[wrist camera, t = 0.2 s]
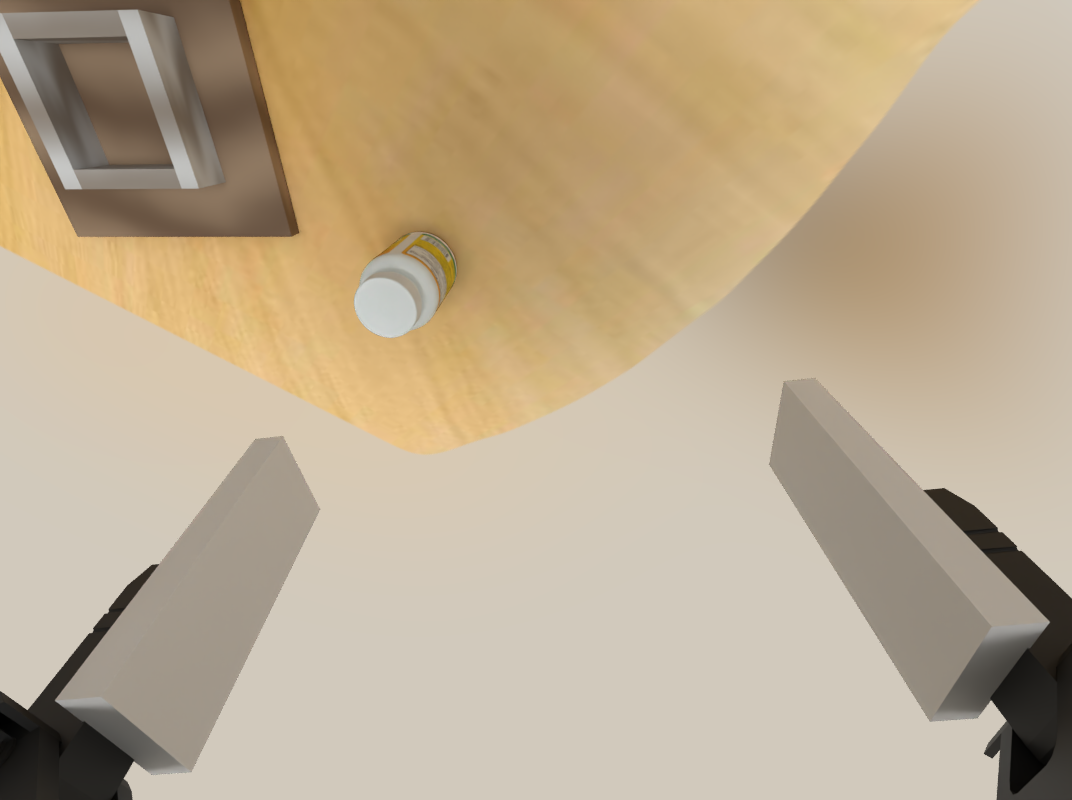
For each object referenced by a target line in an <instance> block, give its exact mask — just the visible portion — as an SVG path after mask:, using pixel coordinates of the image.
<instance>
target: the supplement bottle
mask: <svg viewBox="0 0 1072 800" xmlns="http://www.w3.org/2000/svg"><path fill="white" fill-rule="evenodd" d="M456 275H457V265H456V260H455V257H454V255H453V253H452V251H451V249H450V248H449V247H448V245H447V244H446V243H445V242H444V241H442V240H441V239H440V238H438V237H437V236H435V235H433V234H430V233H425V232H413V233H409V234H407V235H405V236H403V237H401V238H400V239H399V240H397V241H396V242H395V243H393V244H392V245H391V246H390V247H388V248H387V249H386V250H385V251H383V252H382V253H381V254H379V255H378V256H377V257H375V258H374V259H373V260H372V261H371V262H370V263H369V264H368V265H367V266H366V267H365V269H364V271H363V273H362V275H361V279H360V285H359V288H358V289H357V291H356V293H355V298H354V307H355V311H356V314H357V316H358V318H359V320H360V321H361V323H362V324H363V325H364V326H365V327H366V328H367V329H368V330H370V331H371V332H373V333H374V334H376V335H379V336H382V337H388V338H394V337H399V336H402V335H404V334H406V333H407V332H409V331H410V330H414V329H417V328H419V327H421V326H423V325H425V324H426V323H427V322H428V321H429V320H430V319H431V318H432V317H433V316H434V314H435V312H436V311H437V309H438V308H439V306H440V305H441V303H442V301H443V300H444V298H445V297H446V295H447V294H448V292H449V291H450V289H451V288H452V286H453V284H454V282H455V279H456Z"/></svg>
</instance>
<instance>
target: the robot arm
mask: <svg viewBox="0 0 1072 800" xmlns="http://www.w3.org/2000/svg"><path fill="white" fill-rule="evenodd" d="M769 465H770V467H771V468H772V470H773V471H774V473H775V475H776V476H777V478H778V479H779V481H780V483H781V484H782V486H783V487H784V489H785V491H786V492H787V494H788V495H789V497H790V499H791V500H792V502H793V503H794V505H795V507H796V508H797V510H798V511H799V513H800V515H801V516H802V518H803V519H804V520H805V523H806V524H807V526H808V527H809V529H810V531H811V532H812V534H813V535H814V537H815V538H816V540H817V542H818V543H819V545H820V547H821V548H822V550H823V551H824V553H825V554H826V556H827V558H828V559H829V561H830V563H831V564H832V566H833V567H834V569H835V571H836V572H837V574H838V575H839V577H840V579H841V580H842V582H843V583H844V585H845V586H846V588H847V590H848V591H849V593H850V595H851V596H852V598H853V599H854V601H855V602H856V604H857V606H858V607H859V609H860V610H861V612H862V614H863V615H864V617H865V618H866V620H867V622H868V623H869V625H870V626H871V628H872V630H873V631H874V633H875V634H876V636H877V638H878V639H879V641H880V642H881V644H882V646H883V647H884V649H885V650H886V652H887V654H888V655H889V657H890V658H891V660H892V662H893V663H894V665H895V666H896V668H897V670H898V671H899V673H900V674H901V676H902V677H903V679H904V681H905V682H906V684H907V686H908V687H909V689H910V690H911V692H912V694H913V695H914V697H915V698H916V700H917V702H918V703H919V705H920V706H921V708H922V710H923V711H924V713H925V714H926V716H927V718H928V719H929V721H944V720H958V719H959V720H960V719H974V718H978V717H979V715H980V714H981V713H982V711H983V710H984V709H985V707H986V706H987V705H988V703H989V702H990V701H991V700H992V701H993V703H994V704H995V705H996V707H997V708H998V709H999V711H1000V712H1001V714H1002V715H1003V716H1004V717H1005V719H1006V720H1007V722H1005V724H1004V725H1003V726H1002V727H1001V729H1000V730H999V731H998V732H997V734H996V735H995V736H994V737H993V738H992V739H991V741H990V742H989V743H988V745H987V747H986V750H985V752H984V754H985V755H987V756H989V757H991V758H993V757H994V756H995V755H996V754H997V753H998V751H999V750H1000V758H999V773H998V787H997V800H1072V598H1070V597H1069V596H1068V594H1066V593H1065V592H1064V591H1063V590H1062V589H1061V588H1060V587H1059V586H1058V585H1057V584H1056V583H1055V582H1054V581H1053V580H1052V579H1051V578H1050V577H1049V576H1048V575H1046V574H1045V573H1044V572H1043V571H1042V570H1041V569H1040V568H1039V567H1038V566H1037V565H1036V564H1035V563H1034V562H1033V561H1032V560H1031V559H1030V558H1028V556H1026V554H1025V553H1023V552H1022V551H1018V550H1017V546H1016V545H1015V544H1014V543H1013V542H1012V541H1011V540H1010V539H1009V538H1008V537H1007V536H1006V535H1005V534H1004V533H1002V532H998V528H997V527H996V526H995V525H994V524H993V523H992V522H991V521H990V520H989V519H988V518H987V517H986V516H985V515H984V514H983V513H981V512H980V511H979V510H978V509H977V508H976V507H975V506H974V505H972V504H970V503H969V502H967V501H965V500H964V499H962V498H960V497H958V496H957V495H955V494H953V493H951V492H950V491H948V490H946V489H945V488H942V489H931V490H922V489H921V488H920V487H919V486H918V485H917V483H916V482H915V481H914V480H913V479H912V478H911V477H910V476H909V475H908V474H907V473H906V472H905V471H904V470H903V469H902V468H901V467H900V466H899V465H898V464H897V463H896V462H895V461H894V460H893V458H892V457H891V456H889V454H888V453H887V452H886V451H885V450H884V449H883V448H882V447H881V446H880V445H879V444H878V443H877V442H876V441H875V440H874V439H873V438H872V437H871V436H870V435H869V434H868V432H867V431H866V430H864V429H863V427H862V426H861V425H860V424H859V423H858V422H857V421H856V420H855V419H854V418H853V417H852V416H851V415H850V414H849V413H848V412H847V411H846V410H845V409H844V408H843V407H842V406H841V404H840V403H839V402H838V401H836V399H835V398H834V397H833V396H832V395H831V394H830V393H829V392H828V391H827V390H826V389H825V388H824V387H823V386H822V385H821V384H820V383H819V382H818V381H817V380H816V378H811V379H801V380H792V381H784V383H783V389H782V395H781V401H780V406H779V412H778V418H777V423H776V429H775V434H774V440H773V446H772V452H771V458H770V463H769ZM319 510H320V508H319V506H318V504H317V502H316V500H315V498H314V497H313V495H312V493H311V491H310V489H309V487H308V485H307V483H306V481H305V479H304V477H303V475H302V473H301V471H300V469H299V467H298V465H297V463H296V461H295V459H294V457H293V455H292V453H291V451H290V449H289V447H288V445H287V443H286V441H285V440H284V437H283V436H279V437H270V438H261V439H255V440H254V442H253V443H252V444H251V446H250V447H249V448H248V449H247V451H246V452H245V453H244V455H243V456H242V457H241V458H240V460H239V461H238V463H237V464H236V465H235V466H234V468H233V469H232V470H231V471H230V473H229V474H228V475H227V477H226V478H225V479H224V481H223V482H222V483H221V485H220V486H219V487H218V489H217V490H216V491H215V492H214V494H213V495H212V496H211V498H210V499H209V500H208V501H207V503H206V504H205V505H204V507H203V508H202V509H201V511H200V512H199V513H198V515H197V516H196V517H195V519H194V520H193V521H192V522H191V524H190V525H189V526H188V528H187V529H186V530H185V531H184V533H183V534H182V535H181V537H180V538H179V539H178V541H177V542H176V543H175V544H174V546H173V547H172V548H171V550H170V551H169V552H168V554H167V555H166V556H165V558H164V559H163V560H162V562H161V563H160V564H156V565H151V566H150V567H149V568H148V569H147V570H145V571H144V572H143V573H142V574H141V575H140V576H138V577H137V578H136V579H135V580H133V581H132V582H131V583H130V584H129V585H128V586H127V587H126V588H125V589H124V591H123V592H122V593H121V594H120V595H119V597H118V598H117V599H116V600H115V602H114V603H113V604H112V605H111V607H110V608H109V612H108V614H104V615H103V617H102V618H101V619H100V621H99V622H98V623H97V624H96V625H95V627H94V628H93V629H94V631H93V633H89V634H88V636H87V637H86V638H85V639H84V641H83V642H82V643H81V644H80V646H79V647H78V648H77V649H76V651H75V652H74V653H73V654H72V656H71V657H70V658H69V659H68V661H67V662H66V663H65V664H64V666H63V667H62V668H61V670H60V671H59V672H58V673H57V674H56V676H55V677H54V678H53V679H52V681H51V682H50V683H49V684H48V686H47V687H46V688H45V689H44V691H43V692H42V693H41V694H40V696H39V697H38V698H37V699H36V701H35V702H34V703H33V704H32V706H31V707H30V708H29V709H28V710H26V709H25V708H23V707H22V706H21V705H19V704H18V703H16V702H15V701H14V700H12V699H11V698H9V697H8V696H7V695H5V694H4V693H2V692H1V691H0V800H132V791H131V789H130V787H129V784H128V782H127V781H125V780H124V777H125V775H126V774H127V772H128V770H129V768H130V766H131V765H132V763H133V762H134V761H135V762H136V763H137V764H139V765H140V766H141V767H143V768H144V769H145V770H146V771H148V772H149V773H150V774H151V775H158V774H170V773H171V774H172V773H187V772H192V769H193V767H194V766H195V764H196V761H197V759H198V757H199V755H200V753H201V751H202V749H203V747H204V745H205V743H206V741H207V739H208V737H209V735H210V733H211V731H212V729H213V727H214V725H215V722H216V720H217V719H218V716H219V715H220V713H221V710H222V708H223V706H224V704H225V702H226V700H227V698H228V696H229V694H230V692H231V690H232V688H233V686H234V684H235V682H236V680H237V678H238V676H239V674H240V672H241V670H242V668H243V665H244V663H245V661H246V659H247V657H248V655H249V653H250V651H251V649H252V647H253V645H254V643H255V641H256V639H257V637H258V635H259V633H260V631H261V629H262V627H263V625H264V623H265V621H266V619H267V617H268V614H269V613H270V610H271V608H272V606H273V604H274V602H275V600H276V598H277V596H278V594H279V592H280V590H281V588H282V586H283V584H284V582H285V580H286V578H287V576H288V574H289V572H290V570H291V568H292V566H293V563H294V561H295V559H296V557H297V555H298V553H299V551H300V549H301V547H302V545H303V543H304V541H305V539H306V537H307V535H308V533H309V531H310V529H311V527H312V525H313V523H314V521H315V519H316V517H317V514H318V513H319Z"/></svg>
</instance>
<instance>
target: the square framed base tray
mask: <svg viewBox="0 0 1072 800" xmlns="http://www.w3.org/2000/svg"><path fill="white" fill-rule="evenodd" d="M0 77H1V79H2V81H3V84H4V86H5V88H6V90H7V92H8V94H9V96H10V98H11V100H12V102H13V104H14V106H15V108H16V110H17V112H18V114H19V117H20V119H21V121H22V123H23V125H24V127H25V129H26V131H27V133H28V135H29V137H30V139H31V141H32V143H33V145H34V147H35V150H36V152H37V154H38V156H39V158H40V160H41V162H42V164H43V166H44V168H45V170H46V172H47V174H48V176H49V178H50V180H51V183H52V185H53V187H54V189H55V191H56V193H57V195H58V197H59V199H60V201H61V203H62V205H63V207H64V209H65V211H66V213H67V216H68V218H69V220H70V222H71V224H72V226H73V228H74V230H75V232H76V234H77V236H78V237H292V236H294V235H296V234H298V233H299V231H298V227H297V223H296V219H295V215H294V212H293V208H292V204H291V200H290V196H289V192H288V188H287V184H286V180H285V176H284V173H283V169H282V165H281V161H280V157H279V153H278V149H277V145H276V141H275V137H274V133H273V130H272V126H271V122H270V118H269V114H268V110H267V106H266V102H265V98H264V94H263V90H262V87H261V83H260V79H259V75H258V71H257V67H256V63H255V59H254V55H253V51H252V47H251V44H250V40H249V36H248V32H247V28H246V24H245V20H244V16H243V12H242V8H241V4H240V1H239V0H0Z"/></svg>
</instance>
